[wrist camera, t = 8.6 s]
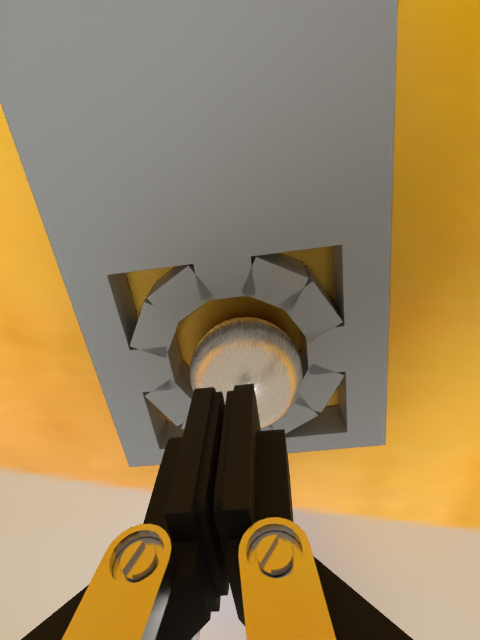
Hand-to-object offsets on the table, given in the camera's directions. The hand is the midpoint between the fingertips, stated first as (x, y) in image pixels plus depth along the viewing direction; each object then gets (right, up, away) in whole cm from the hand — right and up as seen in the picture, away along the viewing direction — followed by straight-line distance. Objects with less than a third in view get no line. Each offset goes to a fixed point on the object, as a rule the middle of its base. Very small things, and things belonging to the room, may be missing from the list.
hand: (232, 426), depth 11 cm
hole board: (-1, +6, +10) cm, 12 cm away
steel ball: (+1, 0, +10) cm, 10 cm away
